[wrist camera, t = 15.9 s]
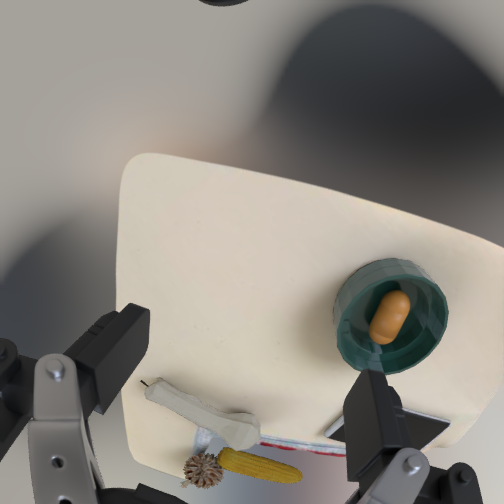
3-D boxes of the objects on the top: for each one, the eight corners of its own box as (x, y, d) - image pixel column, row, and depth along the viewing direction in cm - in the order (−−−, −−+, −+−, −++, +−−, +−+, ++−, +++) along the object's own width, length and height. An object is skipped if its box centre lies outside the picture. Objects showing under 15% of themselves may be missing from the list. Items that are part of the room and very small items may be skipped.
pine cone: (198, 437, 58) (186, 470, 48) (236, 451, 58) (228, 485, 49) (175, 467, 66) (165, 494, 56) (207, 479, 66) (198, 507, 57)
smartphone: (411, 452, 52) (413, 457, 50) (322, 431, 52) (322, 437, 50) (451, 419, 47) (453, 425, 45) (362, 392, 47) (363, 399, 45)
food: (218, 450, 58) (212, 469, 53) (225, 440, 56) (220, 460, 51) (297, 473, 58) (296, 492, 53) (309, 464, 56) (308, 484, 51)
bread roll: (384, 281, 39) (391, 295, 35) (410, 288, 39) (419, 303, 35) (362, 330, 42) (366, 347, 38) (387, 336, 42) (392, 353, 38)
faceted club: (253, 438, 54) (143, 387, 55) (271, 409, 53) (154, 356, 54) (249, 465, 45) (125, 408, 46) (269, 436, 44) (135, 375, 45)
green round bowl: (396, 233, 37) (410, 248, 32) (448, 306, 39) (464, 326, 34) (310, 307, 43) (311, 331, 37) (372, 366, 45) (378, 390, 39)
